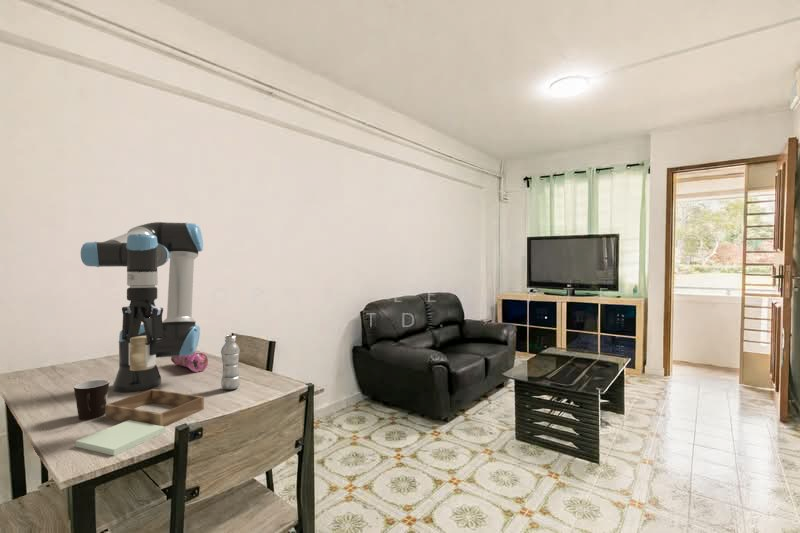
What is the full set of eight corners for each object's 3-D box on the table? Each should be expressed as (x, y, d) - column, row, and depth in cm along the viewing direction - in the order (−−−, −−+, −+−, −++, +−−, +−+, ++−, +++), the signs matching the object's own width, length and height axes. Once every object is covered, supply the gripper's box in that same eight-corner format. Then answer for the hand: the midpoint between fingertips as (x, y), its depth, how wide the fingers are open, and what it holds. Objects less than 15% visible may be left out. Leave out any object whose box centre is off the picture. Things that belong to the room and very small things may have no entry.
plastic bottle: (244, 387, 147) (243, 335, 147) (229, 392, 141) (229, 338, 141) (231, 385, 150) (231, 333, 150) (216, 390, 144) (216, 336, 143)
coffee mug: (87, 411, 124) (87, 380, 123) (115, 410, 124) (115, 379, 124) (58, 426, 112) (58, 392, 112) (90, 425, 113) (89, 391, 112)
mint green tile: (75, 446, 100) (75, 440, 100) (129, 425, 113) (129, 419, 113) (114, 455, 95) (114, 449, 95) (164, 432, 109) (164, 426, 109)
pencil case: (168, 366, 176) (168, 347, 176) (189, 362, 184) (189, 343, 184) (188, 375, 163) (188, 354, 163) (211, 370, 170) (210, 350, 170)
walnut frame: (105, 418, 118) (105, 405, 118) (152, 400, 133) (152, 389, 133) (160, 428, 111) (160, 414, 111) (203, 409, 126) (203, 396, 126)
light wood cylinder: (124, 369, 112) (124, 338, 112) (144, 364, 118) (144, 335, 118) (140, 371, 110) (140, 339, 110) (159, 366, 116) (159, 336, 116)
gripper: (106, 286, 113) (106, 365, 113) (154, 287, 107) (154, 371, 107) (131, 285, 120) (131, 359, 120) (178, 286, 114) (177, 364, 114)
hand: (142, 365), depth 114 cm, fingers closed on light wood cylinder, 6 cm apart
